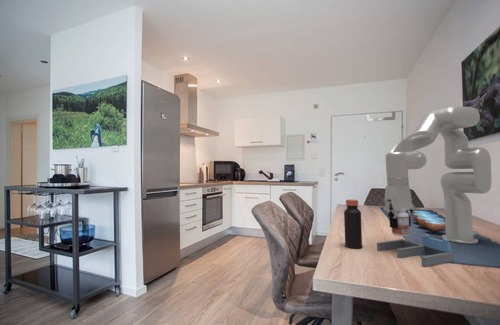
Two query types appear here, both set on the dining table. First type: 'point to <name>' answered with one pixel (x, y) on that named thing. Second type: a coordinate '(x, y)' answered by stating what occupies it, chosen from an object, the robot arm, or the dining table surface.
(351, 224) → the vinegar
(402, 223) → the pill bottle
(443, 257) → the grey blue bar frame
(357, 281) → the dining table surface
